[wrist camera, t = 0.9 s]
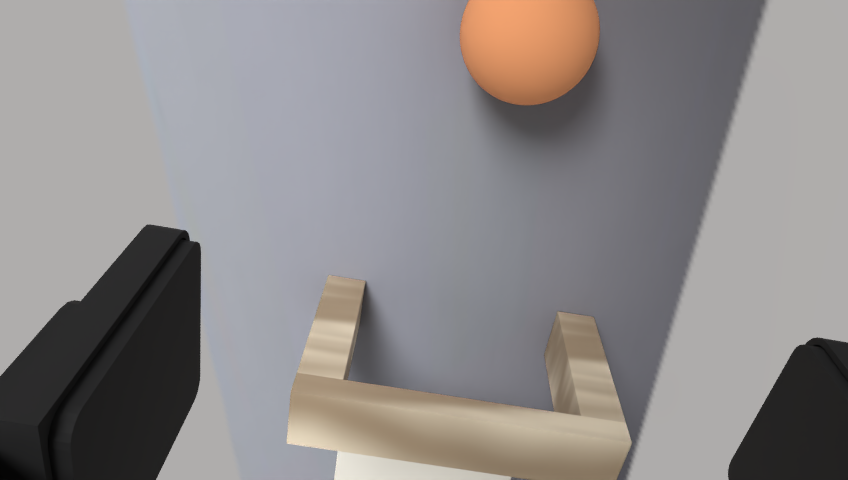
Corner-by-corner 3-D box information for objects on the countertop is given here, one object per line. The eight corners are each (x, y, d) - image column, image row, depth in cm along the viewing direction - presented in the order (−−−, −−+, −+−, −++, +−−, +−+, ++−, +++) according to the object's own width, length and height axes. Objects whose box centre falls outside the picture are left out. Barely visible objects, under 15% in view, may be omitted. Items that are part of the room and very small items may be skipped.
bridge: (328, 275, 36) (290, 391, 28) (593, 317, 37) (631, 443, 29) (323, 320, 38) (286, 443, 29) (578, 360, 38) (611, 491, 30)
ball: (472, -58, 28) (475, -43, 23) (602, -35, 28) (632, -15, 23) (449, 73, 31) (448, 110, 26) (568, 93, 31) (588, 134, 26)
